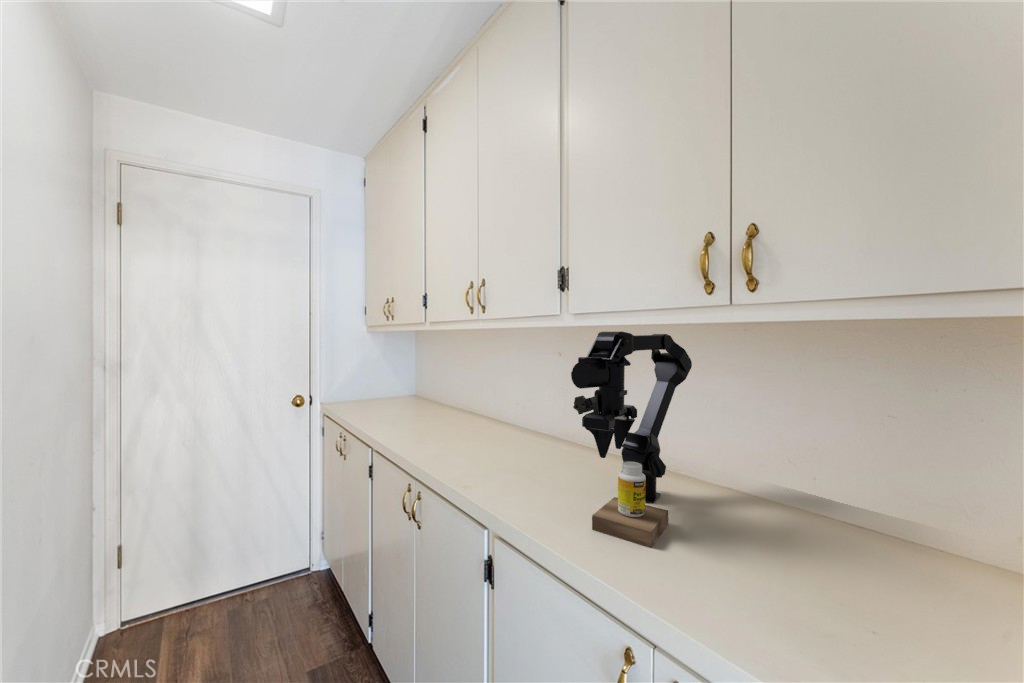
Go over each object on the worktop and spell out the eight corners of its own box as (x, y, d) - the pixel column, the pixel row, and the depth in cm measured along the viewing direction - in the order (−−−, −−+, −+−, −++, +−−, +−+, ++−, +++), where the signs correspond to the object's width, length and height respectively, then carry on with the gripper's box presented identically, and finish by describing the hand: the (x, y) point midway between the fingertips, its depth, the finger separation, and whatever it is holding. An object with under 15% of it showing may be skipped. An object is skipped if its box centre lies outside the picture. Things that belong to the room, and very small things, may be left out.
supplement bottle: (633, 520, 81) (634, 470, 81) (611, 511, 86) (612, 462, 86) (650, 514, 85) (651, 465, 85) (629, 505, 89) (629, 458, 89)
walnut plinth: (614, 510, 94) (614, 497, 94) (668, 524, 87) (668, 510, 87) (592, 529, 84) (592, 515, 84) (650, 547, 77) (650, 532, 77)
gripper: (595, 380, 106) (595, 439, 106) (561, 386, 91) (560, 456, 91) (638, 383, 100) (637, 446, 100) (608, 391, 85) (607, 465, 85)
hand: (610, 453), depth 94 cm, fingers open, 9 cm apart
